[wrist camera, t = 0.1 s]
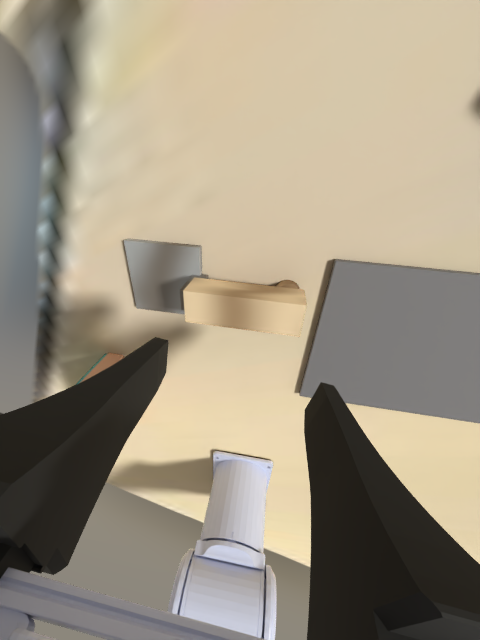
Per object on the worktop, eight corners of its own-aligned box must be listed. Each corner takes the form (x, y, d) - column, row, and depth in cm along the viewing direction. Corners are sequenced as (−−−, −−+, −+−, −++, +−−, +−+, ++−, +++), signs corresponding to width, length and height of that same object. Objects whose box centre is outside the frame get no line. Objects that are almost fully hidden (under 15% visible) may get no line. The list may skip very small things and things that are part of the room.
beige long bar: (307, 256, 18) (313, 278, 14) (293, 324, 21) (295, 357, 17) (127, 238, 19) (90, 254, 16) (139, 305, 23) (111, 331, 19)
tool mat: (489, 420, 23) (492, 425, 23) (299, 392, 25) (299, 395, 25) (615, 286, 16) (624, 289, 16) (334, 259, 18) (336, 261, 17)
